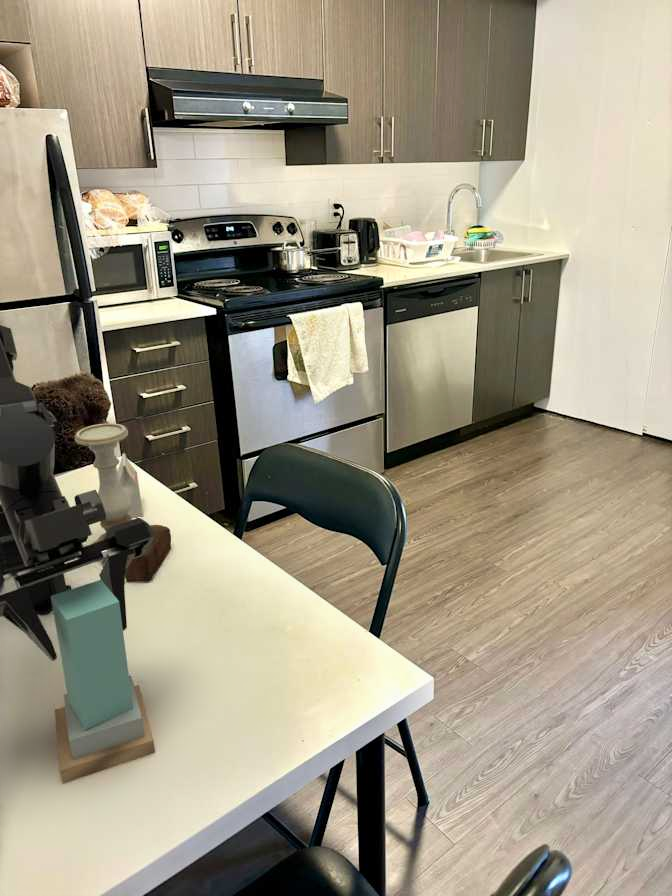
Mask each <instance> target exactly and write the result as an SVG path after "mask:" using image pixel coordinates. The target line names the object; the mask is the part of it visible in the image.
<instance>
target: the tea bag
mask: <svg viewBox="0 0 672 896" xmlns="http://www.w3.org/2000/svg"><path fill="white" fill-rule="evenodd" d="M121 455H122V456H121V460H120V462H119V464H118V467H117V473H118V477H119V481H120V483H121V485H122V487H123V488H124V490H125V491H126V492H127V494H128V495H129V497H130V500H131V508H130V511H129V512H128V515H130V516H131V518H136V519H137V518H138V517H142V518H143V516H144V515H143V508H142V499H141V491H140V486H139V485H140V484H139V479H138V478H139V477H138V472H137V470H136V469H135V468H134V467H133V465H132V464H131V462H130V460H129V459H128V458H127V455H126V453H125V452H124V453H123V452H122V453H121Z"/></svg>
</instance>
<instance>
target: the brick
mask: <svg viewBox="0 0 672 896" xmlns="http://www.w3.org/2000/svg"><path fill="white" fill-rule="evenodd" d="M149 525H150V527H151V529H152V532H153V534H154V536H155V538H154V540H153V541H152V543H151V545H150V546H149V548H148V549H147V551H146V553H145V554H143V555H142V556H140V557H138V558H135V559H132V561H131V563H130V564H129V566H128V568H127V569H126V570H125V581H126V582H127V583H148V582H150V581H151V580H152V579H153V578H154V575H155V574H156V573H157V572H158V571H159V569H160V568H161V565H162V564H163V562H164V560H165V559H166V557H167V556H168V554H169V552H170V551H171V549H172V548H171V547H172V546H171V545H172V534H171V530H170V528H169V527H167V526H165V525H161V524H149ZM169 550H170V551H169Z"/></svg>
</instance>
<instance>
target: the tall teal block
mask: <svg viewBox="0 0 672 896" xmlns="http://www.w3.org/2000/svg"><path fill="white" fill-rule="evenodd" d="M51 602H52V607H53V609H52V612H53V619H54V624H55V629H56V636H57V642H58V646H59V653H60V658H61V659H60V660H61V664H62V665H61V666H62V670H63V676H64V677H63V678H64V682H65V688H66V694H68V700H69V703H70V705H71V707H72V709H73V711H74V712H75V714H76V716H77V718H78V720H79V721H80V723H81V725H82V727H83V728H84V730H87V729H89V728H91V727H93V726H96V725H98V724H100V723H102V722H105V721H107V720H109V719H111V718H114V717H116V716H118V715H120V714H122V713H125V712H127V711H129V710H131V709H133V704H132V696H131V689H130V681H129V676H130V675H129V668H128V667H129V666H128V660H127V650H126V644H125V635H124V631H123V627H122V620H121V612H120V605H119V601H118V600H117V598H116V597H115V596H114V595H113V593H112V592H111V591H110V590H109V589H108V587H107V586H106V585H105V584H104V582H103V581H102V580H101V579H99V580H95V581H92V582H90V583H86V584H83V585H80V586H77V587H74V588H72V589H71V590H68V591H64V592H61V593H58V594H55V595H52V596H51Z"/></svg>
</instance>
